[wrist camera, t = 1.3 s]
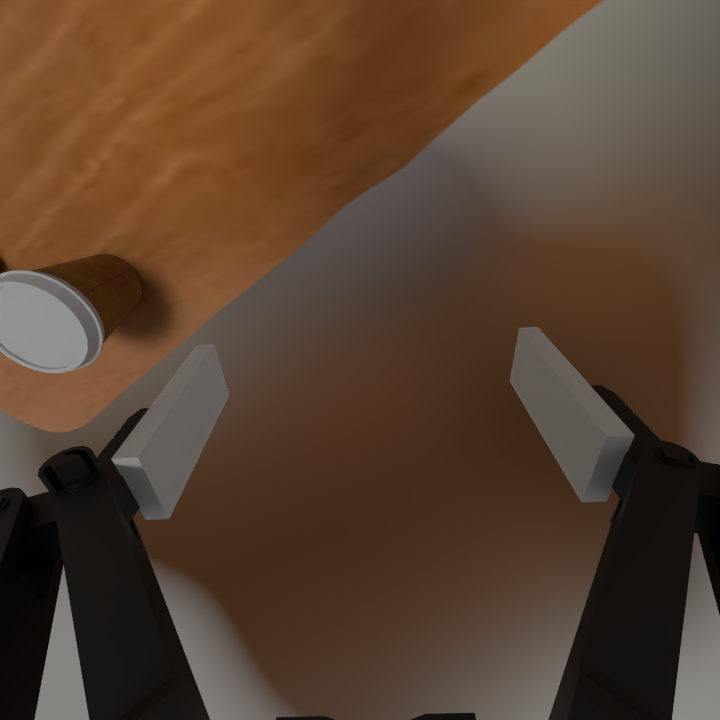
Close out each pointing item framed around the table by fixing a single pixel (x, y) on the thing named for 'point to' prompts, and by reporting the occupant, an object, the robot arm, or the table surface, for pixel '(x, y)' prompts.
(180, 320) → the table surface
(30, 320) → the disposable coffee cup
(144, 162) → the table surface
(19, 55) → the table surface
